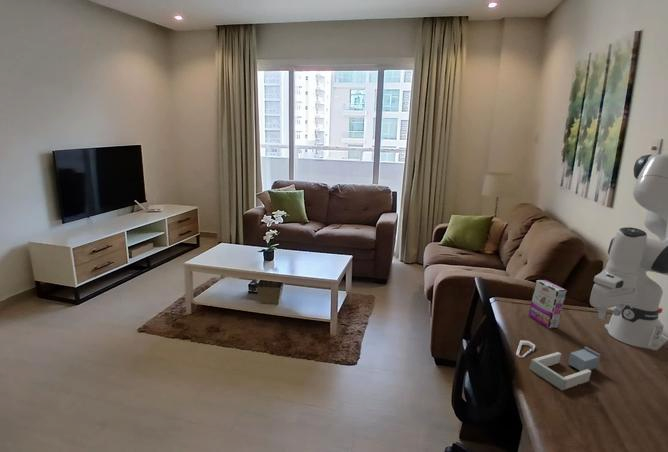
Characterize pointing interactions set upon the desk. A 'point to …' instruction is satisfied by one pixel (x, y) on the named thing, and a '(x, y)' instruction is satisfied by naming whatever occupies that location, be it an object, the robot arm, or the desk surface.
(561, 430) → the desk surface
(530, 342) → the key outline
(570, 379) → the bay
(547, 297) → the candy bar box
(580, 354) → the grey-blue box
